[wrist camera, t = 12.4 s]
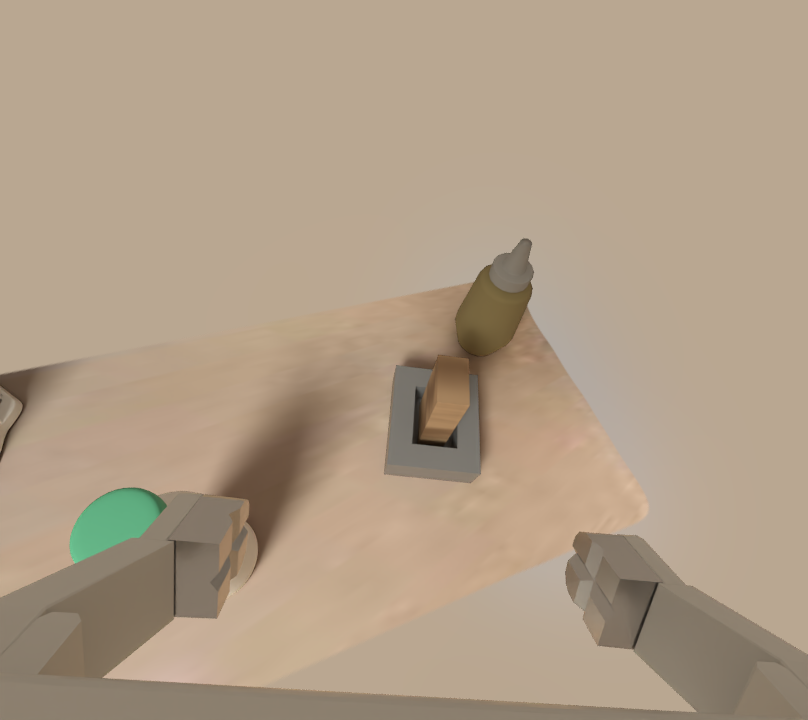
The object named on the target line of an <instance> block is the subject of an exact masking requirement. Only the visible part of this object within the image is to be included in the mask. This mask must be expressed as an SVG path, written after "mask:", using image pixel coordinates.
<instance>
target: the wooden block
mask: <svg viewBox="0 0 808 720" xmlns="http://www.w3.org/2000/svg"><path fill="white" fill-rule="evenodd" d="M469 406H470V393H469V359H468V358H459V357H451V356H443V355H438V357H437V360H436V363H435V365H434V368H433V371H432V373H431V376H430V378H429V381H428V384H427V386H426V389H425V392H424V394H423V397H422V400H421V402H420V405H419V420H418V439H417V444H419V445H428V446H437V447H443V446H444V445H445V443H446V441H447V440H448V438H449V437H450V435H451V434H452V432H453V431H454V429H455V428H456V426H457V425H458V423H459V421H460V420H461V418H462V417H463V415H464V414H465V412H466V411H467V409H468V408H469Z"/></svg>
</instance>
